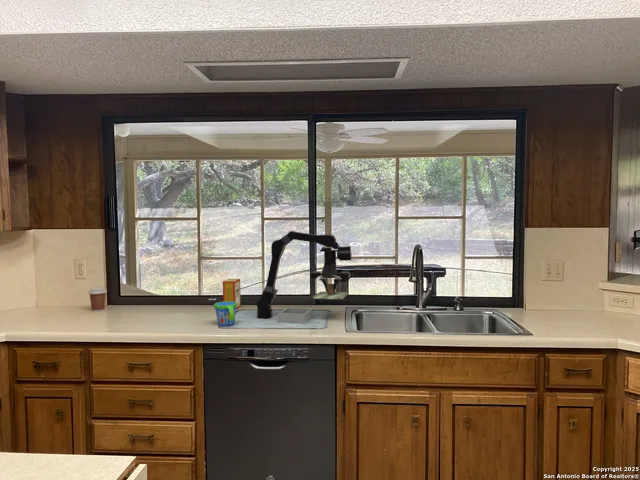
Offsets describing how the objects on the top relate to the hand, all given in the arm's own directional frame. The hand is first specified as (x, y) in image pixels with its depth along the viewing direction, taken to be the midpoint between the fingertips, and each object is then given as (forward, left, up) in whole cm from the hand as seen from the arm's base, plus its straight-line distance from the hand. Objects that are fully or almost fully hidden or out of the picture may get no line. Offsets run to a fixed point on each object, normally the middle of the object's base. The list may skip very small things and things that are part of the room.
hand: (330, 292), depth 226 cm
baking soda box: (-59, +14, -14) cm, 62 cm away
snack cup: (-46, -20, -14) cm, 52 cm away
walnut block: (-16, -6, -13) cm, 21 cm away
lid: (0, 0, -2) cm, 2 cm away
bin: (-16, -6, -14) cm, 22 cm away
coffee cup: (-128, -7, -14) cm, 129 cm away
